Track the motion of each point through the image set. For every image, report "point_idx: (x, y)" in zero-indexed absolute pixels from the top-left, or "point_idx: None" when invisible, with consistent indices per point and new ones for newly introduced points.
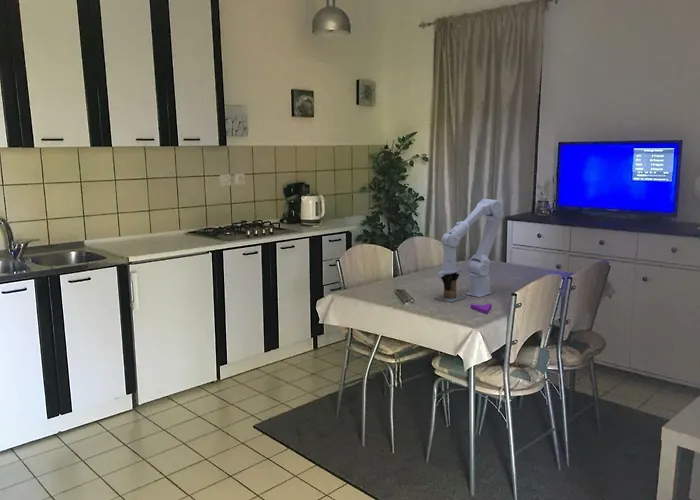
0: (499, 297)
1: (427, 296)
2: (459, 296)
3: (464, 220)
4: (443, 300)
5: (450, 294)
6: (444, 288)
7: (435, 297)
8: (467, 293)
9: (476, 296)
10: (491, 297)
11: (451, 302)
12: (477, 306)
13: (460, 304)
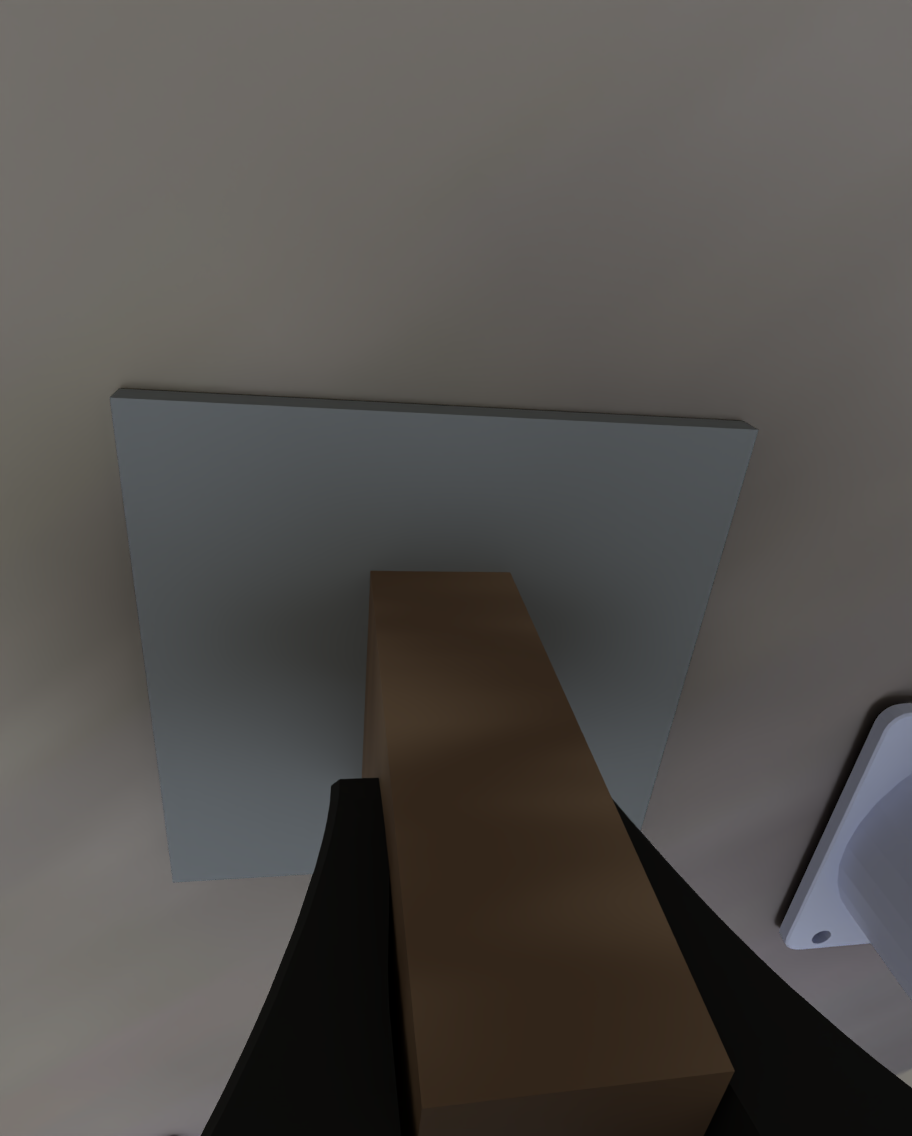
0: (888, 1039)
1: (160, 11)
2: (619, 768)
3: None
4: (153, 697)
5: None
6: (384, 751)
7: (154, 433)
8: (895, 749)
9: (794, 897)
10: (851, 997)
11: (177, 864)
12: None
13: (216, 987)
